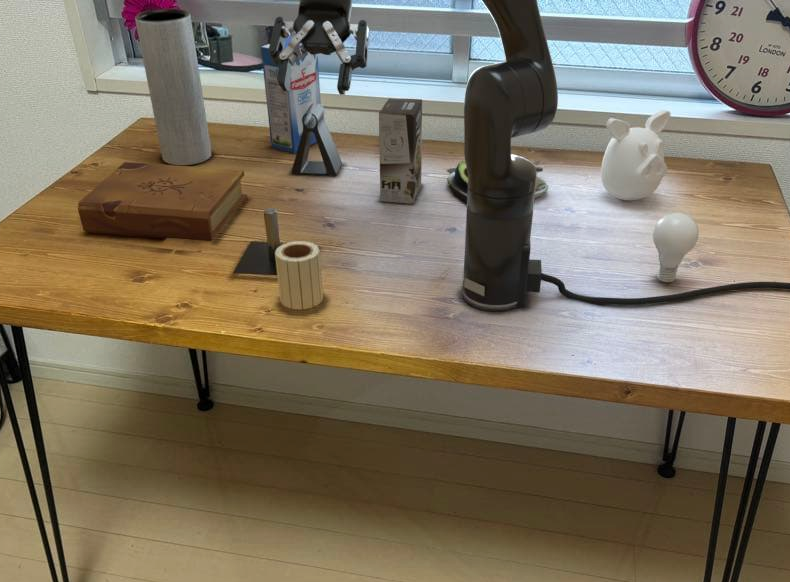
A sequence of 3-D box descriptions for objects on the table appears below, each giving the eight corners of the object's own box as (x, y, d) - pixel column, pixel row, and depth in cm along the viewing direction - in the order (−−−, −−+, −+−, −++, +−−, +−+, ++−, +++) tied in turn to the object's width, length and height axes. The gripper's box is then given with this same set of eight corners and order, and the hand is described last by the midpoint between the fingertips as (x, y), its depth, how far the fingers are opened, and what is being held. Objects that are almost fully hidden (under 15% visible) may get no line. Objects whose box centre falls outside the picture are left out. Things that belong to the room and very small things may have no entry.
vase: (206, 166, 163) (183, 20, 146) (157, 166, 163) (128, 21, 146) (216, 148, 170) (195, 8, 154) (168, 148, 171) (142, 8, 154)
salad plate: (518, 163, 162) (520, 140, 159) (571, 195, 149) (574, 171, 147) (433, 180, 156) (433, 157, 153) (481, 216, 143) (482, 191, 140)
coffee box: (413, 204, 147) (414, 115, 137) (379, 202, 148) (377, 112, 138) (422, 184, 154) (423, 98, 144) (389, 182, 155) (388, 96, 145)
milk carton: (294, 153, 168) (285, 51, 155) (271, 147, 170) (260, 46, 158) (323, 138, 174) (316, 39, 162) (300, 133, 177) (292, 35, 165)
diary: (84, 235, 138) (76, 203, 135) (131, 191, 153) (124, 162, 149) (212, 244, 135) (207, 212, 132) (247, 199, 150) (243, 168, 146)
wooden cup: (326, 293, 122) (322, 242, 117) (318, 314, 117) (314, 262, 112) (286, 291, 123) (280, 240, 118) (276, 312, 118) (270, 260, 113)
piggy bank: (636, 217, 142) (652, 132, 132) (583, 197, 149) (594, 115, 139) (677, 198, 148) (694, 115, 139) (624, 179, 155) (637, 99, 146)
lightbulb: (679, 295, 120) (695, 227, 114) (638, 284, 123) (651, 217, 116) (691, 277, 125) (708, 211, 118) (651, 267, 127) (665, 201, 121)
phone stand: (342, 164, 162) (339, 104, 155) (336, 176, 158) (332, 114, 150) (298, 162, 164) (293, 102, 156) (291, 174, 159) (285, 112, 152)
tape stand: (316, 248, 134) (312, 197, 128) (302, 281, 125) (297, 228, 120) (251, 245, 135) (244, 194, 129) (233, 277, 126) (225, 224, 121)
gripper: (274, -32, 116) (257, 74, 114) (371, -30, 114) (355, 79, 112) (289, 0, 123) (273, 100, 122) (380, 3, 121) (365, 106, 119)
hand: (312, 90), depth 117 cm, fingers open, 8 cm apart
